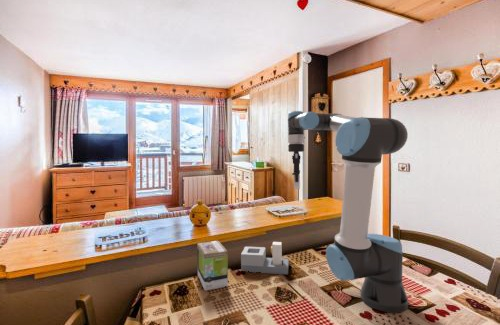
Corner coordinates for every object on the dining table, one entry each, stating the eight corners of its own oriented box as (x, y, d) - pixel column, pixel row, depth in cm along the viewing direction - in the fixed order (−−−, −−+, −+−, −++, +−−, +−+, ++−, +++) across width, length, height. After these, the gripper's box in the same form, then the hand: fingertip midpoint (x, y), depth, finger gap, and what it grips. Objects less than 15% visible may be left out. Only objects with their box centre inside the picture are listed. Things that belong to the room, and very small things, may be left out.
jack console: (287, 274, 117) (287, 256, 117) (241, 271, 121) (241, 254, 120) (288, 264, 127) (288, 248, 127) (245, 262, 130) (245, 246, 130)
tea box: (228, 286, 107) (228, 250, 107) (204, 291, 104) (203, 254, 103) (219, 271, 121) (218, 239, 121) (197, 275, 118) (196, 242, 117)
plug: (281, 271, 120) (281, 245, 120) (270, 270, 121) (270, 244, 121) (281, 267, 124) (281, 242, 124) (271, 266, 125) (271, 241, 125)
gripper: (305, 142, 117) (305, 190, 117) (303, 144, 141) (303, 183, 142) (287, 143, 118) (288, 190, 119) (288, 144, 142) (289, 183, 143)
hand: (296, 187), depth 130 cm, fingers open, 13 cm apart
